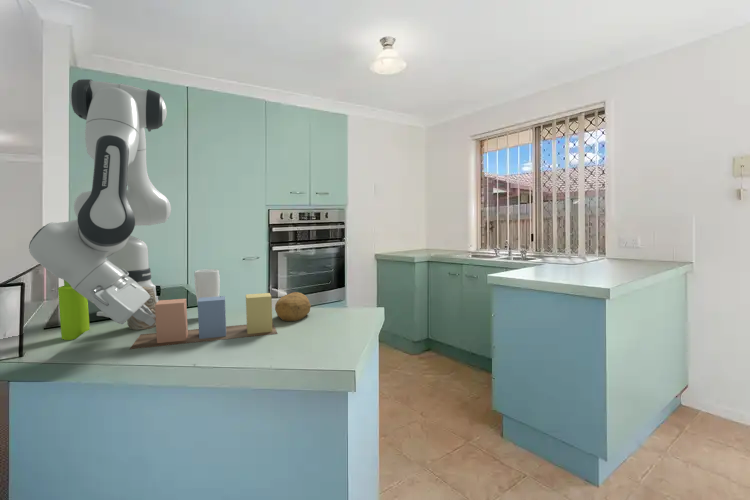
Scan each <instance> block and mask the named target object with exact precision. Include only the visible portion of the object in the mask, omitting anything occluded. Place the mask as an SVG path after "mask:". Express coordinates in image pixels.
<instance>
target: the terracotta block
mask: <svg viewBox="0 0 750 500" xmlns="http://www.w3.org/2000/svg"><path fill="white" fill-rule="evenodd" d="M158 300H159V299H158ZM187 307H188V306H187V298H177V299H175V298H174V299H161V300H159V301H158V302H157V303H156V304H155V314H156V327H155V330H156V332H155V333H157V343H164V342H174V341H184V340H186V338H187V336H188V330H189V329H188V310H187V309H188V308H187Z"/></svg>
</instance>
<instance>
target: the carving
mask: <svg viewBox="0 0 750 500" xmlns="http://www.w3.org/2000/svg"><path fill="white" fill-rule="evenodd" d="M142 288H143V289H145V290H146V291H147V292H148V294H149V295H150V299H149V300H148V301H147V302H146V303H145V304H144V305H146V306H147V307H148V308H149V309H150V311H151V312H152V313H153V314H154V315H155V316H156V314H155V304H156V303H157V301H156V297H155V293H154V290H153V288H150V287H142ZM126 322H127V326H128V328H129V330H132V331H133V330H134V331H135V330H136V331H138V330H139V331H140V330H147V329H148V330H149V329H153V328H156V322H155V323H154V324H153V325H152V326H149V325H148V324H146V323H145V322H143V321H140V320H138V319H136V318H135V317H133V316H131V317H130V318H129V319H128V320H127V321H126Z"/></svg>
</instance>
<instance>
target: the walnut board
mask: <svg viewBox="0 0 750 500" xmlns="http://www.w3.org/2000/svg"><path fill="white" fill-rule="evenodd" d="M272 330H273V332H263V333H253V334H248V333H247V324H238V325H226V336H224V337H214V338H204V339H199V328H196V329H195V328H194V329H188V336H187V338H186V340H184V341H174V342H164V343H157V333H156V332H151V333H142V334H140V335H139V336H138V337H137V338H136V339H135V341H134V342H133V343H132V345H131V346H130V347H129V350H135V349H138V350H139V349H145V348H154V347H155V348H157V347H165V346H166V347H167V346H173V345H175V346H176V345H184V344H194V343H203V342H212V341H214V342H215V341H220V340H221V341H222V340H223V341H224V340H233V339H243V338H251V337H260V336H261V337H262V336H270V335H271V336H272V335H278V332H277V329H276V327H275V324H274V322H273V321H272Z"/></svg>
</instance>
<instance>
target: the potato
mask: <svg viewBox="0 0 750 500" xmlns="http://www.w3.org/2000/svg"><path fill="white" fill-rule="evenodd" d="M310 302H311V301H310V300H309V298H308V297H307V296H306V295H305V294H303V293H302V292H298V291H297V292H296V291H294V292H291V293H288V294H285V295H283V296H281V297H280V298H279V299H278V300H277V301H276V303H275V306H274V307H275V308H274V310H275V313H276V316H277V317H278V318H280V319H281V320H282V321H284V322H295V321H300V320H303V319H304V318H306V316H307V315H308V314H310V311H311V306H312V305H311V303H310Z"/></svg>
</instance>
